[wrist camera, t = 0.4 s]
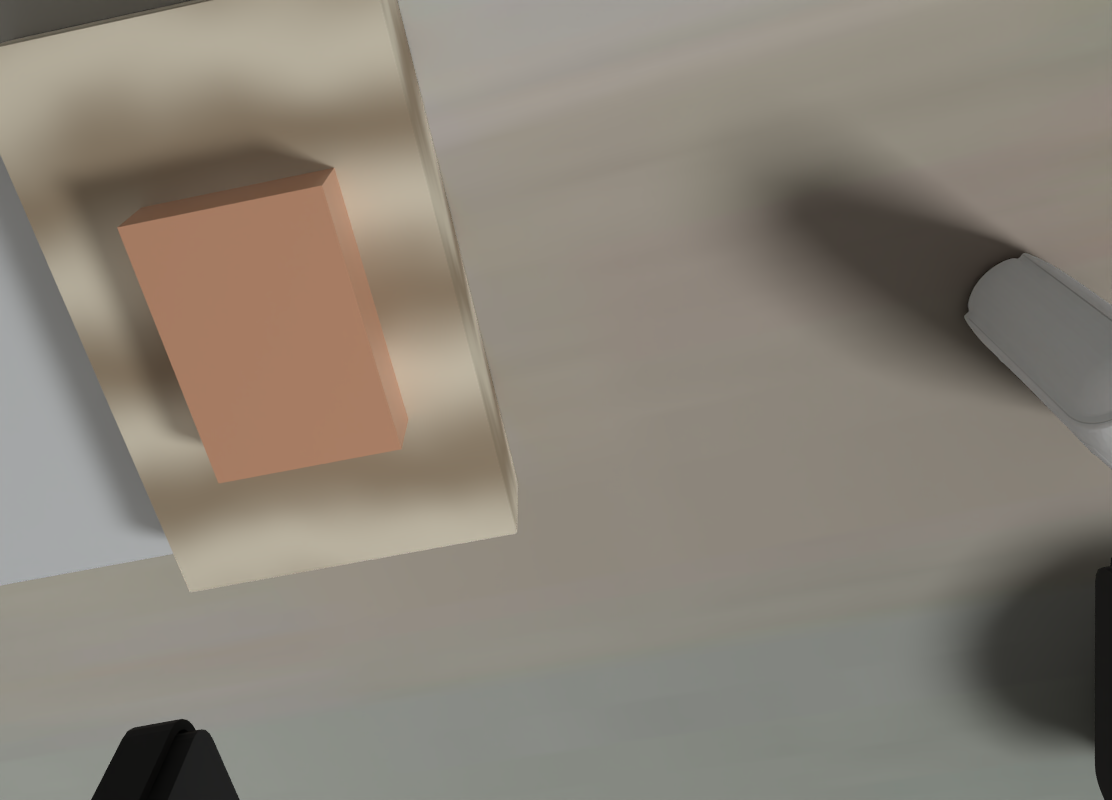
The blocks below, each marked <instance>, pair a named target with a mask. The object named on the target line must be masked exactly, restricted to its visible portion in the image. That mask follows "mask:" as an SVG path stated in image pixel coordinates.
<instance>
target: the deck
mask: <svg viewBox="0 0 1112 800" xmlns="http://www.w3.org/2000/svg"><path fill="white" fill-rule="evenodd" d="M0 155H1V157H2V160H3V162H4V164H5V166H6V169H7V171H8V173H9V176H10V178H11V180H12V183H13V185H14V187H15V190H16V192H17V194H18V196H19V199H20V201H21V203H22V206H23V208H24V210H25V213H26V215H27V217H28V220H29V222H30V224H31V226H32V229H33V231H34V233H35V236H36V238H37V240H38V243H39V245H40V247H41V250H42V252H43V254H44V256H45V259H46V261H47V263H48V266H49V268H50V270H51V273H52V275H53V277H54V280H55V282H56V284H57V286H58V289H59V291H60V293H61V296H62V298H63V300H64V303H65V305H66V307H67V310H68V312H69V314H70V316H71V319H72V321H73V323H74V326H75V328H76V330H77V333H78V335H79V337H80V340H81V342H82V344H83V346H84V349H85V351H86V353H87V356H88V358H89V360H90V363H91V365H92V367H93V370H94V372H95V374H96V376H97V379H98V381H99V383H100V386H101V388H102V390H103V393H104V395H105V397H106V399H107V402H108V404H109V406H110V409H111V411H112V413H113V416H114V418H115V420H116V423H117V425H118V427H119V429H120V432H121V434H122V436H123V439H124V441H125V443H126V446H127V448H128V450H129V453H130V455H131V457H132V459H133V462H134V464H135V466H136V469H137V471H138V473H139V476H140V478H141V480H142V483H143V485H144V487H145V489H146V492H147V494H148V496H149V499H150V501H151V503H152V506H153V508H154V510H155V513H156V515H157V517H158V519H159V522H160V524H161V526H162V529H163V531H164V533H165V536H166V538H167V540H168V543H169V545H170V547H171V549H172V552H173V554H174V556H175V559H176V561H177V563H178V566H179V568H180V570H181V573H182V575H183V577H184V579H185V582H186V584H187V586H188V589H189V591H190V592H195V591H201V590H206V589H212V588H217V587H223V586H228V585H234V584H239V583H245V582H251V581H256V580H262V579H267V578H273V577H278V576H284V575H289V574H295V573H300V572H306V571H311V570H317V569H322V568H328V567H334V566H339V565H345V564H350V563H356V562H361V561H367V560H372V559H378V558H383V557H389V556H394V555H400V554H405V553H411V552H417V551H422V550H428V549H433V548H439V547H444V546H450V545H455V544H461V543H466V542H472V541H477V540H483V539H489V538H494V537H500V536H505V535H511V534H516V533H517V506H518V482H517V478H516V474H515V470H514V466H513V462H512V458H511V454H510V450H509V446H508V442H507V438H506V434H505V430H504V426H503V422H502V418H501V414H500V410H499V406H498V402H497V398H496V394H495V390H494V386H493V382H492V378H491V374H490V370H489V366H488V362H487V358H486V354H485V350H484V346H483V342H482V338H481V334H480V330H479V326H478V322H477V318H476V314H475V310H474V306H473V302H472V298H471V294H470V290H469V286H468V282H467V278H466V274H465V270H464V266H463V262H462V258H461V254H460V250H459V246H458V242H457V238H456V234H455V230H454V226H453V222H452V218H451V214H450V210H449V206H448V202H447V198H446V194H445V190H444V186H443V182H442V178H441V174H440V170H439V166H438V162H437V158H436V154H435V150H434V146H433V142H432V138H431V134H430V130H429V126H428V122H427V118H426V114H425V110H424V106H423V102H422V98H421V94H420V90H419V86H418V81H417V77H416V73H415V69H414V65H413V61H412V57H411V53H410V49H409V45H408V41H407V37H406V33H405V29H404V25H403V21H402V17H401V13H400V9H399V5H398V1H397V0H192V1H187V2H183V3H178V4H174V5H169V6H164V7H160V8H155V9H151V10H146V11H142V12H137V13H133V14H128V15H123V16H119V17H114V18H110V19H105V20H101V21H96V22H92V23H87V24H82V25H78V26H73V27H69V28H64V29H60V30H55V31H51V32H46V33H41V34H37V35H32V36H28V37H23V38H19V39H14V40H10V41H7V42H3V43H0ZM330 168H335V171H336V175H337V178H338V182H339V185H340V188H341V192H342V195H343V199H344V202H345V205H346V209H347V212H348V216H349V219H350V222H351V226H352V229H353V233H354V236H355V239H356V243H357V246H358V250H359V253H360V256H361V260H362V263H363V267H364V270H365V273H366V277H367V280H368V284H369V287H370V290H371V294H372V297H373V301H374V304H375V307H376V311H377V314H378V318H379V321H380V324H381V328H382V331H383V335H384V338H385V341H386V345H387V348H388V352H389V355H390V358H391V362H392V365H393V369H394V372H395V375H396V379H397V382H398V386H399V389H400V392H401V396H402V399H403V403H404V406H405V409H406V413H407V416H408V424H407V428H406V432H405V437H404V441H403V446H402V449H400V450H395V451H390V452H384V453H379V454H374V455H368V456H363V457H358V458H352V459H347V460H342V461H336V462H331V463H326V464H320V465H315V466H310V467H304V468H299V469H294V470H288V471H283V472H278V473H272V474H267V475H262V476H256V477H251V478H246V479H240V480H235V481H230V482H224V483H218V481H217V478H216V476H215V473H214V471H213V468H212V466H211V463H210V461H209V458H208V456H207V453H206V451H205V448H204V446H203V443H202V440H201V438H200V435H199V433H198V430H197V428H196V425H195V423H194V420H193V418H192V415H191V413H190V410H189V408H188V405H187V403H186V400H185V398H184V395H183V393H182V390H181V388H180V385H179V382H178V380H177V377H176V375H175V372H174V370H173V367H172V365H171V362H170V360H169V357H168V355H167V352H166V350H165V347H164V345H163V342H162V340H161V337H160V335H159V332H158V329H157V327H156V324H155V322H154V319H153V317H152V314H151V312H150V309H149V307H148V304H147V302H146V299H145V297H144V294H143V292H142V289H141V287H140V284H139V282H138V279H137V277H136V274H135V271H134V269H133V266H132V264H131V261H130V259H129V256H128V254H127V251H126V249H125V246H124V244H123V241H122V239H121V236H120V234H119V231H118V229H117V227H118V226H120V225H121V224H122V223H123V222H124V221H126V220H127V219H128V218H129V217H130V216H132V215H133V214H134V213H135V212H136V211H138V210H139V209H140V208H141V207H146V206H151V205H156V204H161V203H165V202H170V201H175V200H180V199H185V198H190V197H194V196H199V195H204V194H209V193H214V192H219V191H223V190H228V189H233V188H238V187H243V186H248V185H253V184H257V183H262V182H267V181H272V180H277V179H282V178H286V177H291V176H296V175H301V174H306V173H311V172H315V171H320V170H325V169H330Z"/></svg>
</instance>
